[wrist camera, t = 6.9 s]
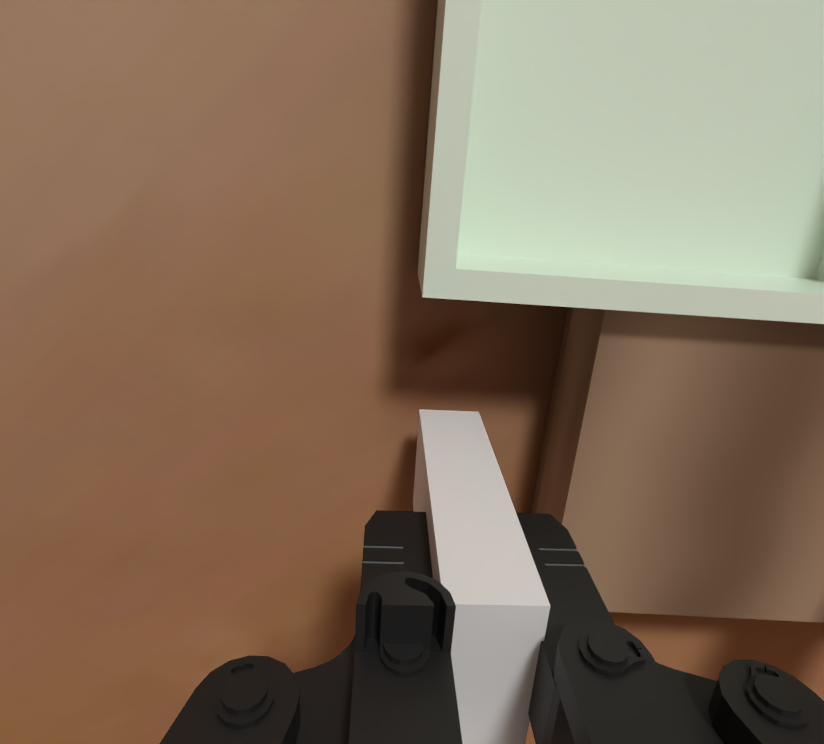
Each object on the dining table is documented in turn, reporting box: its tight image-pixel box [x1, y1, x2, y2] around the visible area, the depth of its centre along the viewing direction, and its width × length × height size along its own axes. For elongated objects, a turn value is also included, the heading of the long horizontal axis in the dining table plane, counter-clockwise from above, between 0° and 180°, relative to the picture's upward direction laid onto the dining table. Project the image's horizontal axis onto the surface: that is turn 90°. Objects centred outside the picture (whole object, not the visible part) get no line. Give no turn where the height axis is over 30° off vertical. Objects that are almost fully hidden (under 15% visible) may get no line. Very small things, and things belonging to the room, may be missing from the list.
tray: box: [417, 0, 824, 324], centre depth 11 cm, size 10×10×3 cm
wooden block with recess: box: [531, 307, 824, 623], centre depth 15 cm, size 14×8×3 cm, turn 85°
